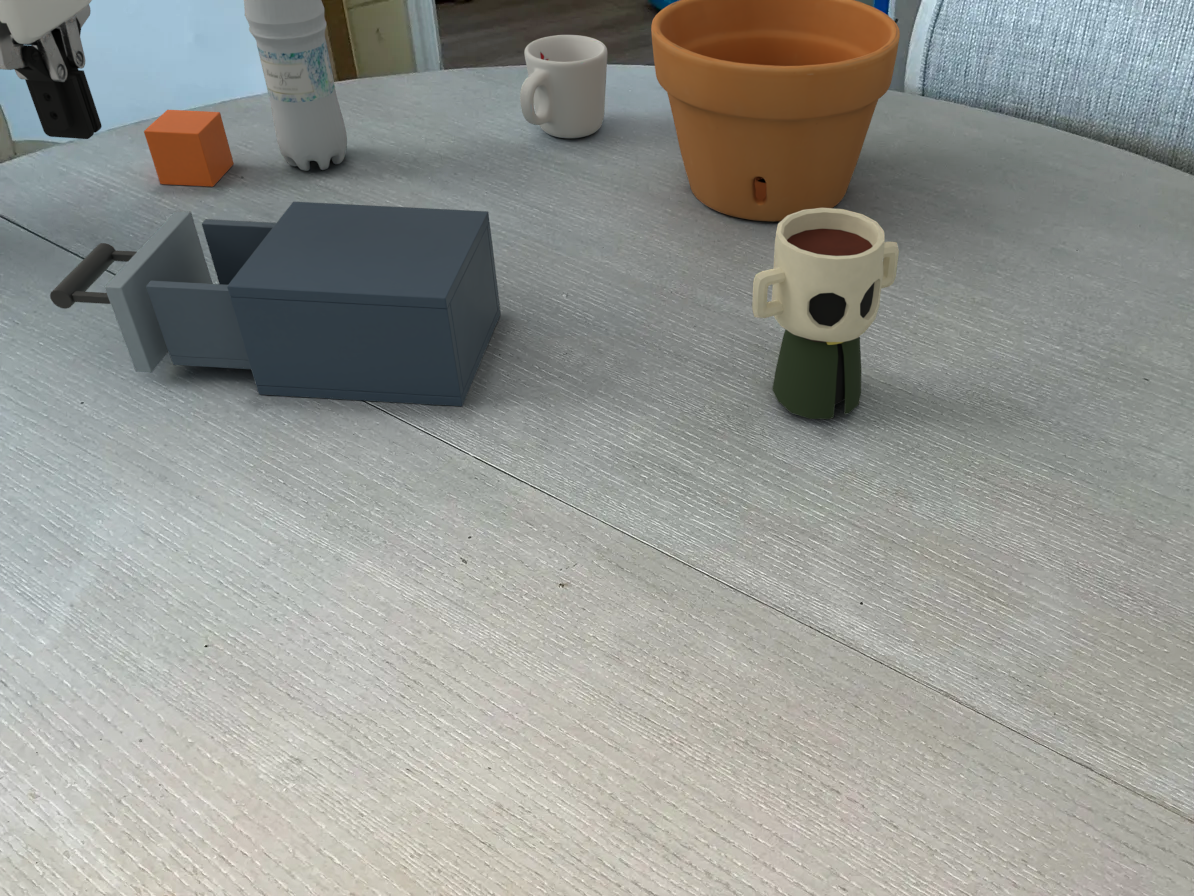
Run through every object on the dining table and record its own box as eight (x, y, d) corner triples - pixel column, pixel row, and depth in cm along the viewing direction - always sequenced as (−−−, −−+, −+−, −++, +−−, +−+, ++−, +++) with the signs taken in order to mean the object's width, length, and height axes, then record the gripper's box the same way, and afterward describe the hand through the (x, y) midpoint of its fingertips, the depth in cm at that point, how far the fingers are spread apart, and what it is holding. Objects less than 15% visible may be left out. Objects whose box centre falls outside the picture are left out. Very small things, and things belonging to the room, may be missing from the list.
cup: (561, 162, 113) (555, 78, 107) (497, 143, 116) (487, 60, 110) (626, 125, 120) (623, 44, 114) (563, 108, 123) (558, 28, 117)
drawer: (56, 367, 83) (20, 282, 79) (129, 287, 92) (100, 206, 87) (322, 383, 83) (301, 297, 78) (370, 300, 91) (354, 219, 87)
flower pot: (663, 138, 117) (661, -20, 108) (874, 145, 117) (891, -13, 107) (644, 237, 102) (640, 63, 92) (888, 245, 101) (910, 71, 91)
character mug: (773, 447, 79) (783, 274, 71) (725, 393, 84) (729, 224, 75) (908, 407, 83) (933, 238, 75) (854, 357, 88) (873, 193, 79)
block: (159, 184, 108) (143, 131, 104) (182, 161, 111) (167, 109, 108) (213, 187, 107) (198, 133, 104) (234, 164, 111) (220, 111, 108)
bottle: (267, 171, 110) (209, -61, 97) (302, 143, 115) (252, -82, 102) (332, 180, 109) (283, -54, 96) (365, 151, 114) (323, -75, 101)
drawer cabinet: (258, 394, 83) (226, 286, 77) (317, 303, 92) (293, 201, 87) (462, 406, 82) (445, 298, 77) (501, 313, 92) (488, 210, 86)
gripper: (-25, -210, 73) (75, 87, 85) (-183, -156, 62) (-43, 177, 74) (93, -203, 72) (176, 94, 85) (-44, -148, 61) (74, 185, 73)
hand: (74, 132), depth 79 cm, fingers closed
